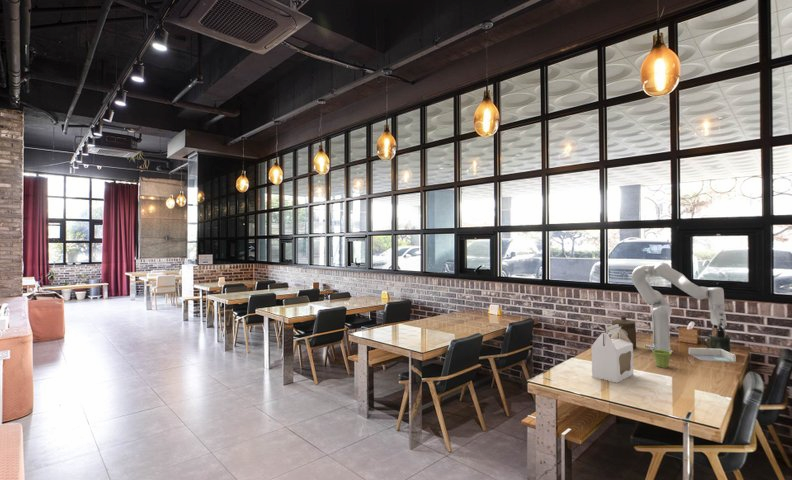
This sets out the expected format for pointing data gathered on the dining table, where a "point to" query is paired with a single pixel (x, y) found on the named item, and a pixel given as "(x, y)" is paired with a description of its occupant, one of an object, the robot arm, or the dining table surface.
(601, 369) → the gable box
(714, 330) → the walnut block
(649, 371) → the dining table surface
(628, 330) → the wooden container
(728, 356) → the arena
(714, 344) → the mug
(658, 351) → the plant pot
